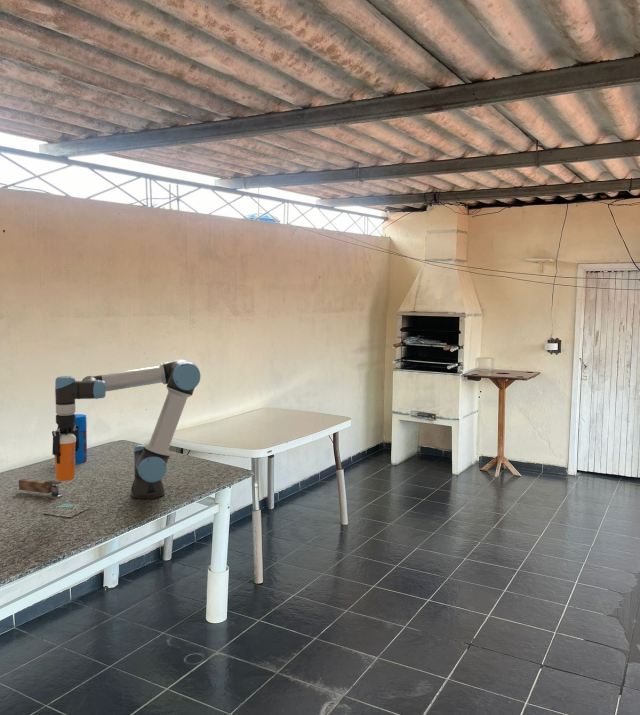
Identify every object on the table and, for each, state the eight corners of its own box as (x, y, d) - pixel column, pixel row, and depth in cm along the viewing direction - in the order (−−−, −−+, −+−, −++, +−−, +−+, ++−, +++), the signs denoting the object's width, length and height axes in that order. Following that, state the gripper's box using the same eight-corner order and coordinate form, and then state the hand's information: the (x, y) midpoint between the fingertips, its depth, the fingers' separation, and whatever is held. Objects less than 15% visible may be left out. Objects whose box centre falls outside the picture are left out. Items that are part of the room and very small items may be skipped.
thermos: (61, 462, 340) (60, 416, 338) (74, 458, 351) (73, 413, 348) (78, 464, 337) (77, 418, 335) (91, 460, 348) (90, 414, 345)
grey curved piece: (65, 495, 286) (65, 484, 286) (56, 499, 281) (55, 488, 280) (54, 493, 288) (54, 483, 288) (44, 497, 282) (44, 486, 282)
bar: (63, 492, 286) (63, 479, 285) (55, 495, 281) (55, 482, 281) (24, 487, 292) (24, 475, 291) (17, 490, 287) (16, 477, 287)
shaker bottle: (52, 482, 258) (51, 433, 256) (55, 476, 267) (54, 429, 265) (75, 481, 260) (74, 432, 259) (77, 475, 269) (76, 428, 267)
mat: (90, 508, 270) (90, 507, 270) (69, 518, 258) (69, 516, 258) (65, 504, 274) (65, 503, 274) (43, 514, 261) (43, 512, 261)
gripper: (73, 409, 272) (74, 462, 274) (41, 417, 254) (42, 473, 256) (88, 410, 270) (88, 464, 272) (57, 418, 252) (57, 475, 254)
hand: (66, 468), depth 264 cm, fingers open, 6 cm apart
